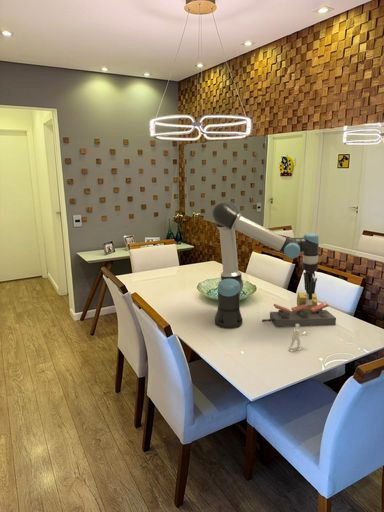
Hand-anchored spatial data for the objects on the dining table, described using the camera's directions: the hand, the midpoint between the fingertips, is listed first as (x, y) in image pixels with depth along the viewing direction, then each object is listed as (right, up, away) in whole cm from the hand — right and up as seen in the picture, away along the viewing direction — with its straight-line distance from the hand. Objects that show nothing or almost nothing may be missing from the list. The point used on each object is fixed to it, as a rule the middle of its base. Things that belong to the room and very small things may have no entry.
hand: (309, 304), depth 193 cm
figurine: (-16, -16, -30) cm, 38 cm away
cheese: (+3, -6, +15) cm, 16 cm away
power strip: (-7, -9, -1) cm, 12 cm away
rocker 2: (-4, -2, 0) cm, 5 cm away
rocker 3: (+6, -2, +1) cm, 6 cm away
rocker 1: (-15, -3, 0) cm, 15 cm away
